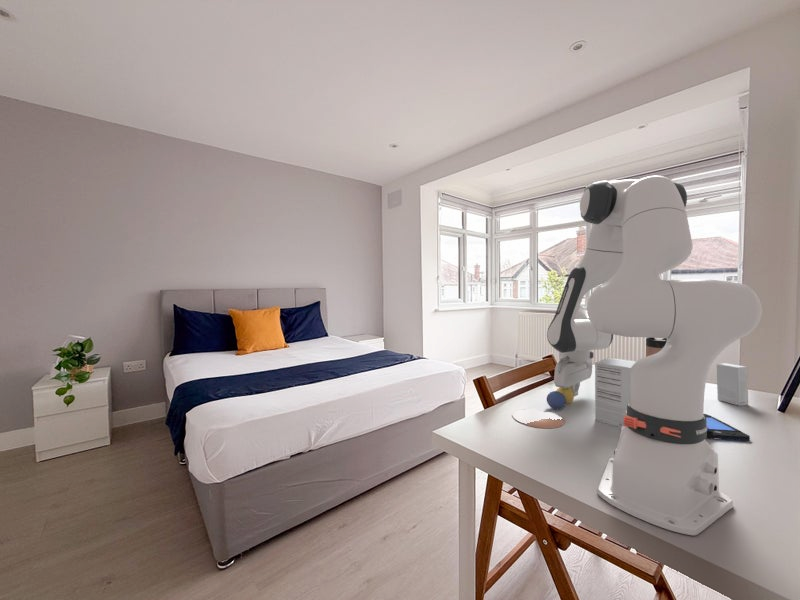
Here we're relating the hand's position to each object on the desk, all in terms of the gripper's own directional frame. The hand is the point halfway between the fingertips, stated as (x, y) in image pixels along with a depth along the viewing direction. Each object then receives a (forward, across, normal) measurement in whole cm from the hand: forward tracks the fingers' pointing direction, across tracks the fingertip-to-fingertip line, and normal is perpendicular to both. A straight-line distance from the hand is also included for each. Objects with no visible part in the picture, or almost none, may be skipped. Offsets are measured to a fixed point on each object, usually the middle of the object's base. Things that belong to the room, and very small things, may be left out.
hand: (573, 395), depth 110 cm
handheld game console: (+2, +3, -31) cm, 31 cm away
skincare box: (+2, +35, -34) cm, 49 cm away
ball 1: (-1, -12, 0) cm, 12 cm away
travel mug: (+2, +23, -18) cm, 29 cm away
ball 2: (-1, -6, 0) cm, 6 cm away
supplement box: (+2, -8, -16) cm, 18 cm away
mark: (+2, -23, 0) cm, 23 cm away
